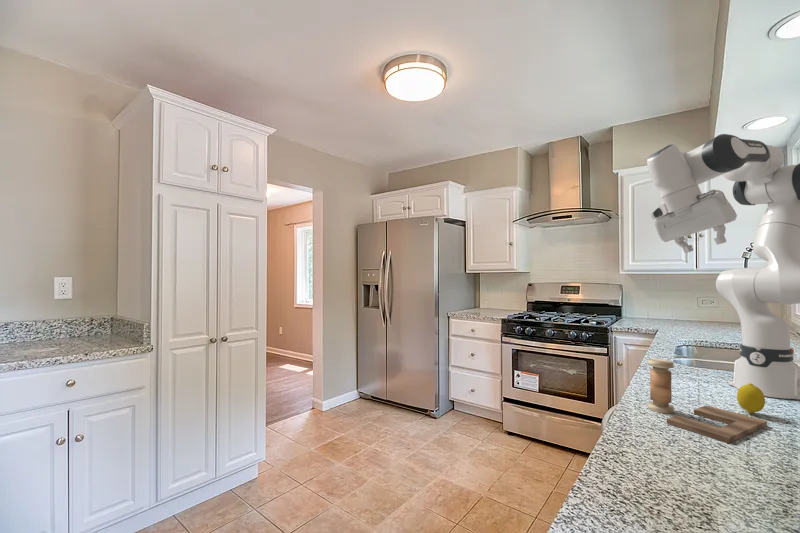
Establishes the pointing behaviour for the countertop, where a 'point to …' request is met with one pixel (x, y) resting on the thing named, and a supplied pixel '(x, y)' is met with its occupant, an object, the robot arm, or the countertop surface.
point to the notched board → (729, 433)
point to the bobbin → (660, 386)
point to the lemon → (750, 398)
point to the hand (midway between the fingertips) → (704, 247)
